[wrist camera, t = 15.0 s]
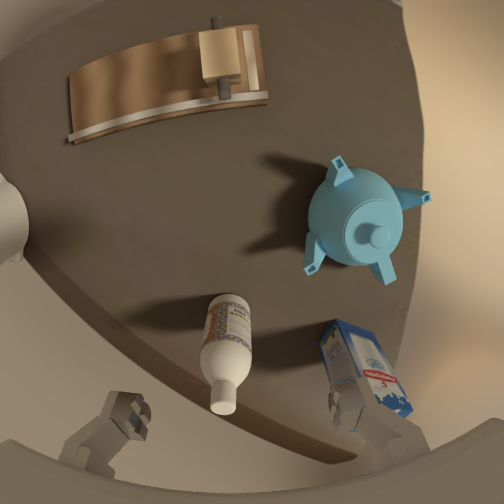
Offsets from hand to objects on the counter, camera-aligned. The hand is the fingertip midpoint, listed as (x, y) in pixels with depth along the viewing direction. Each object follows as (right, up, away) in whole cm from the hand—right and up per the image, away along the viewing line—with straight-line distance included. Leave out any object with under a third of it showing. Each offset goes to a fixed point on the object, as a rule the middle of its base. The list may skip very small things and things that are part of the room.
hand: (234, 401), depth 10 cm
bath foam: (-3, -3, +36) cm, 36 cm away
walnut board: (-12, +30, +21) cm, 38 cm away
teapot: (+15, +12, +29) cm, 35 cm away
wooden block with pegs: (-3, +30, +19) cm, 35 cm away
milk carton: (+19, -10, +39) cm, 45 cm away
